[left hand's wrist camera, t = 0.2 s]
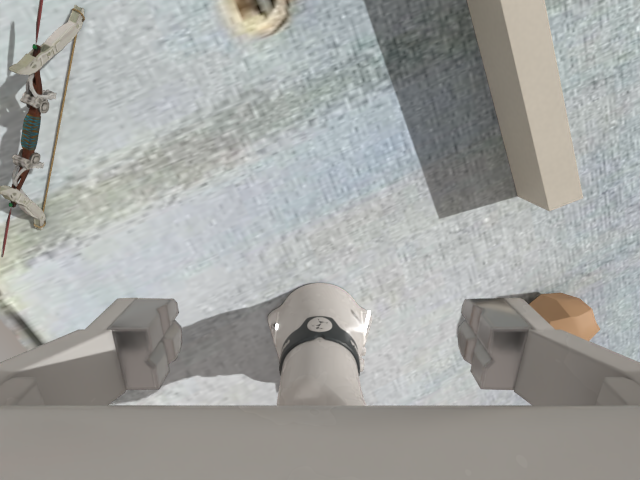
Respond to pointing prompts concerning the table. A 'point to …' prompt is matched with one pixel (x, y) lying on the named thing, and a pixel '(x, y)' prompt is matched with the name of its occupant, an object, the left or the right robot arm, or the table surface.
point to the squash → (566, 314)
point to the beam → (528, 99)
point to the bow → (37, 113)
